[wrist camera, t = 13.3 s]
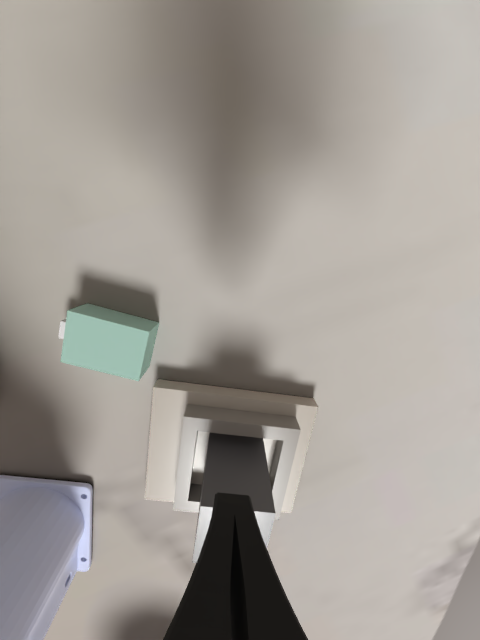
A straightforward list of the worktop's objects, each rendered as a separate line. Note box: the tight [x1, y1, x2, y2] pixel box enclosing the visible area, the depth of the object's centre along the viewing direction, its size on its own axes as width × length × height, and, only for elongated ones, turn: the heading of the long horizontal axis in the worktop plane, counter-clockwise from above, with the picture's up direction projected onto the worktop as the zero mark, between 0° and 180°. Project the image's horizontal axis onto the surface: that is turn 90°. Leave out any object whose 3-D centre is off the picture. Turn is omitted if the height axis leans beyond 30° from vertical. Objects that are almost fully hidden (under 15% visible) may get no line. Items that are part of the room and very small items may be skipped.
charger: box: [192, 433, 276, 563], centre depth 17 cm, size 4×4×6 cm
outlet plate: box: [145, 379, 318, 520], centre depth 20 cm, size 10×12×3 cm
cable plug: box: [58, 303, 159, 381], centre depth 18 cm, size 4×6×2 cm, turn 74°
